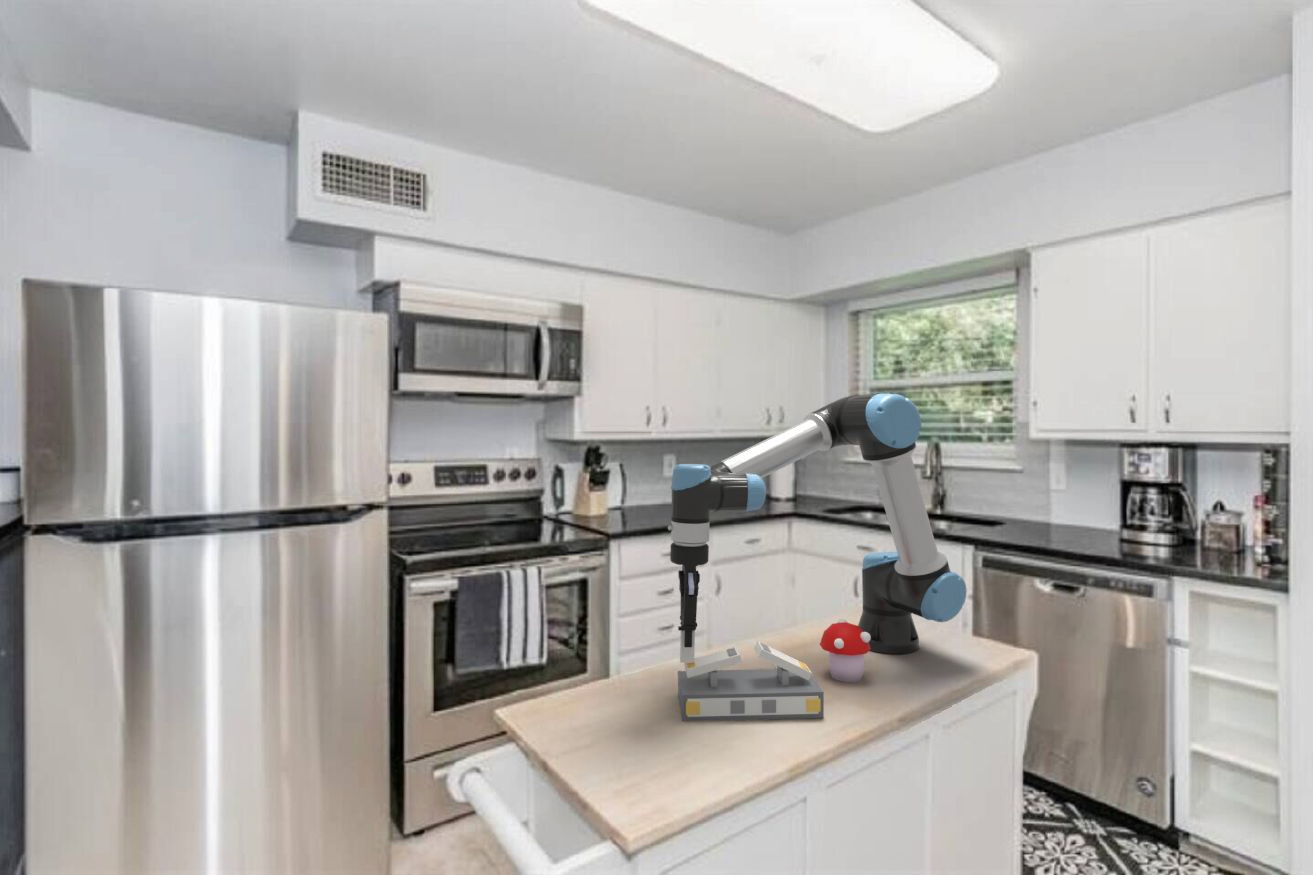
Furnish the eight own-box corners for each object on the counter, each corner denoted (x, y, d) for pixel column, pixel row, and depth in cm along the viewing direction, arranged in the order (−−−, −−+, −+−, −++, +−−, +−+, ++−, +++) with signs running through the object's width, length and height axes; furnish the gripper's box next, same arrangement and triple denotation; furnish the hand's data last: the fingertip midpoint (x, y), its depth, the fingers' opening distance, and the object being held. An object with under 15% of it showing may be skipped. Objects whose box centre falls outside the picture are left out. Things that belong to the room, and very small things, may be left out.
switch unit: (807, 691, 139) (807, 655, 139) (824, 718, 127) (824, 678, 127) (678, 694, 138) (677, 657, 138) (682, 722, 126) (682, 681, 126)
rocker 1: (738, 654, 135) (736, 645, 135) (742, 662, 130) (739, 654, 130) (685, 668, 134) (683, 660, 134) (687, 677, 130) (685, 669, 130)
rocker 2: (802, 671, 135) (806, 663, 135) (808, 680, 130) (812, 672, 130) (754, 648, 135) (757, 640, 135) (758, 656, 130) (762, 648, 130)
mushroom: (870, 688, 141) (870, 632, 140) (817, 682, 144) (817, 627, 144) (871, 670, 151) (871, 617, 150) (821, 664, 154) (821, 613, 154)
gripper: (669, 536, 138) (666, 649, 138) (672, 548, 125) (669, 673, 125) (705, 537, 138) (702, 650, 139) (712, 549, 125) (709, 673, 126)
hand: (687, 661), depth 132 cm, fingers closed
